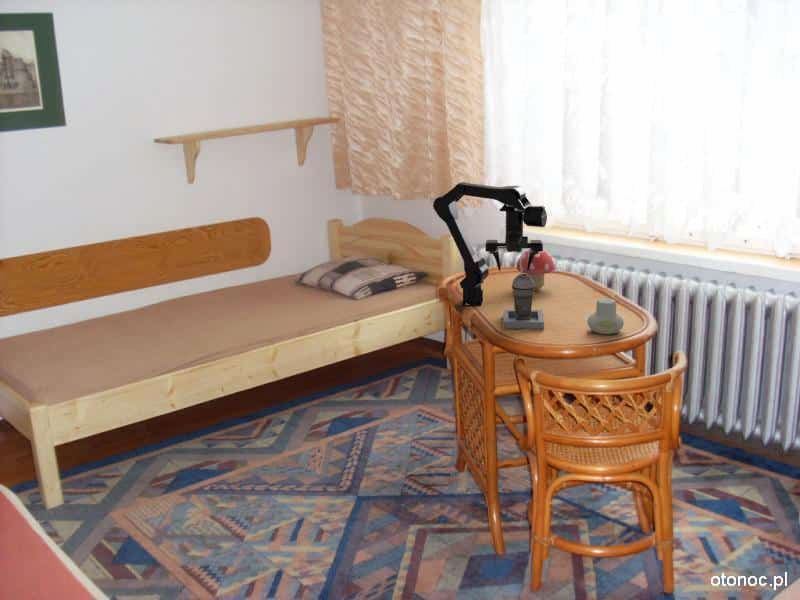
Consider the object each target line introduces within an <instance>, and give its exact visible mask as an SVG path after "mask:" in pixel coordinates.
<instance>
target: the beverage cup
mask: <svg viewBox="0 0 800 600" xmlns="http://www.w3.org/2000/svg"><path fill="white" fill-rule="evenodd" d="M520 271H521V272H520ZM520 271H519V272H520V274H517V275H516V276H515V278H514V279H513V280H512V285H511V288H512V295H513V307H514V310H515V319H516V320H530V316H531V310H532V306H533V298H534V297H533V296H534V292H535V290H534V288H535V285H534V281H533V279H532V278H531V277H530V276H529V275H527V274H525V273H522V264H521V260H520Z"/></svg>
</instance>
